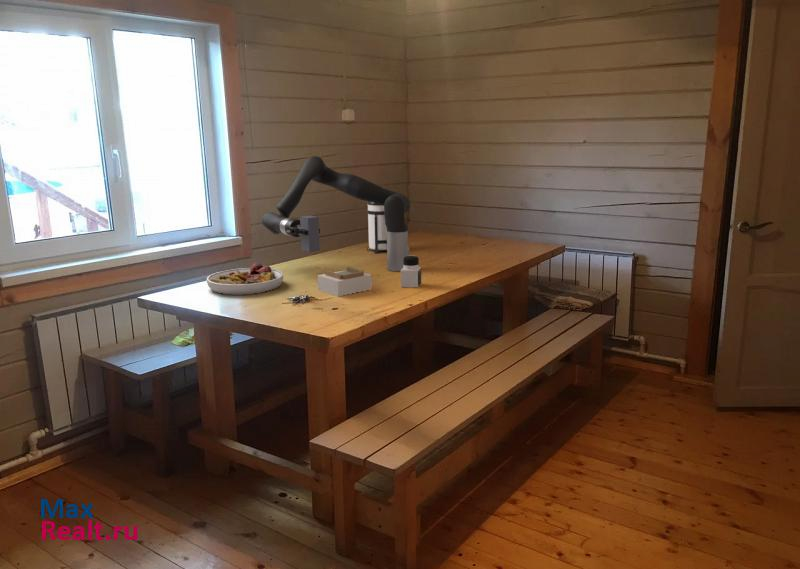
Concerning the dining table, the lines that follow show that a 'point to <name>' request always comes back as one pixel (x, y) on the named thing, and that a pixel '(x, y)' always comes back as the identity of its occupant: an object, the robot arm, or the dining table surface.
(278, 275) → the bowl
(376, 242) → the coffee press
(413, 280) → the medicine bottle
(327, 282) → the stand
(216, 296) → the dining table surface
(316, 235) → the grey tall block
